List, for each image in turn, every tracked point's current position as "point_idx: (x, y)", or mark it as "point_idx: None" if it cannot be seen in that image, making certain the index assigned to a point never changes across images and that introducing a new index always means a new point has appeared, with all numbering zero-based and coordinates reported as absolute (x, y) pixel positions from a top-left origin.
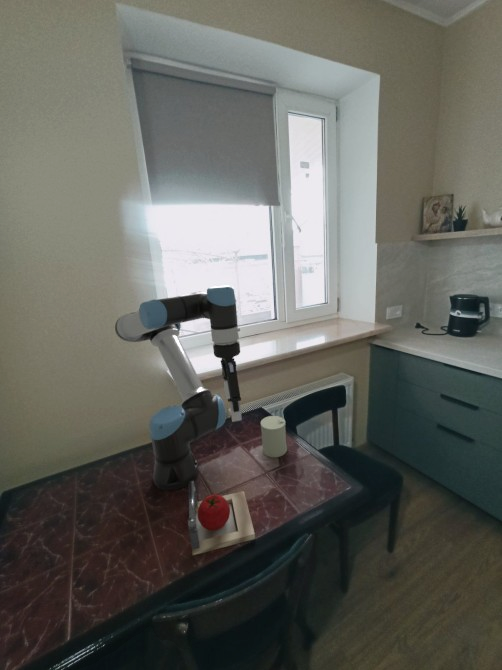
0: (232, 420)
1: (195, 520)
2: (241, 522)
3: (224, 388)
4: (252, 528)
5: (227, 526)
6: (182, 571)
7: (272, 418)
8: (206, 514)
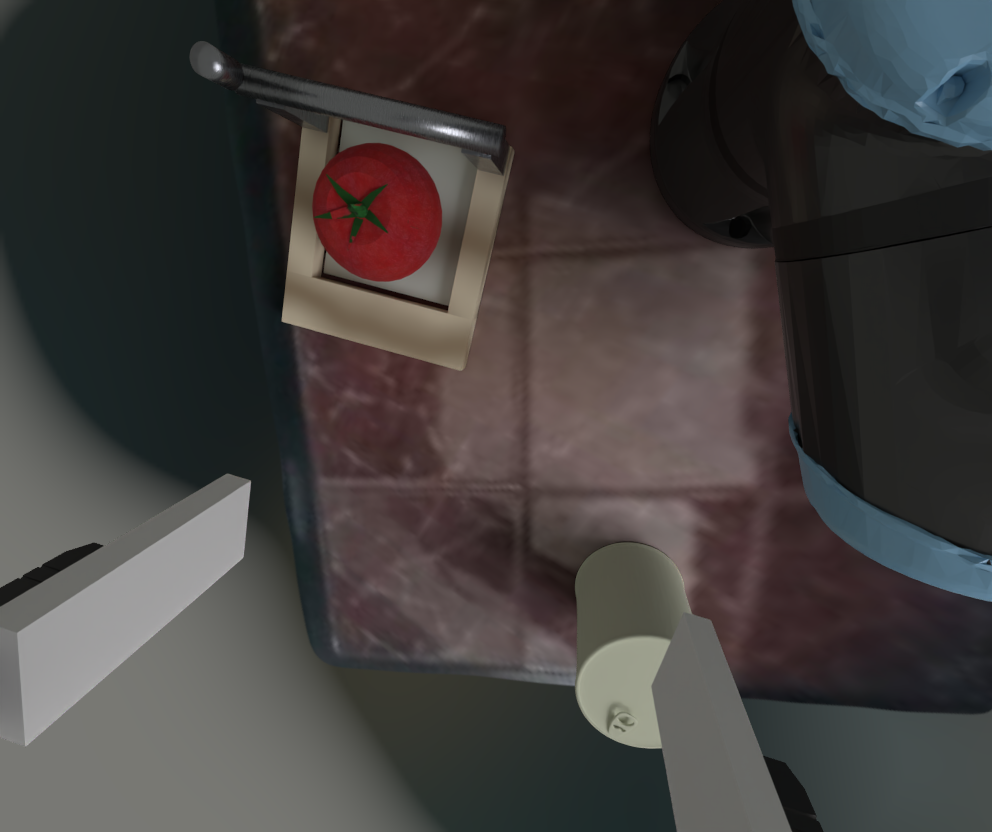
0: (217, 482)
1: (274, 101)
2: (336, 301)
3: (754, 741)
4: (301, 324)
5: None
6: (278, 56)
7: None
8: (327, 168)
